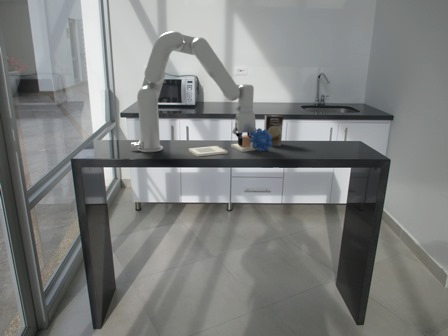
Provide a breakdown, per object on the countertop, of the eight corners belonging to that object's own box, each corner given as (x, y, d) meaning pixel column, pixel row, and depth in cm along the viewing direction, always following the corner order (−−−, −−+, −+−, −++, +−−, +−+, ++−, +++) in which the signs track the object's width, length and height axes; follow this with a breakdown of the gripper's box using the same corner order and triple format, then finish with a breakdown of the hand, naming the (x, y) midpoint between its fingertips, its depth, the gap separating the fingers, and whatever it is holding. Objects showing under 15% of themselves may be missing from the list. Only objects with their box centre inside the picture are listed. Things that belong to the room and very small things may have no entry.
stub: (241, 151, 179) (242, 139, 177) (231, 146, 189) (231, 135, 187) (255, 150, 182) (256, 138, 180) (244, 145, 192) (245, 133, 191)
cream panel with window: (197, 156, 169) (197, 154, 169) (188, 150, 179) (188, 148, 179) (227, 153, 175) (227, 150, 175) (217, 148, 186) (217, 145, 185)
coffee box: (264, 145, 192) (266, 116, 187) (262, 143, 198) (264, 114, 193) (281, 146, 192) (283, 116, 187) (279, 143, 198) (281, 114, 194)
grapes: (252, 154, 175) (253, 130, 171) (248, 150, 181) (249, 127, 177) (274, 153, 177) (276, 129, 173) (270, 150, 183) (271, 127, 180)
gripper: (234, 111, 173) (233, 147, 179) (263, 109, 180) (261, 145, 185) (227, 109, 180) (226, 144, 185) (256, 108, 187) (254, 142, 192)
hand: (244, 144), depth 185 cm, fingers closed on stub, 4 cm apart
